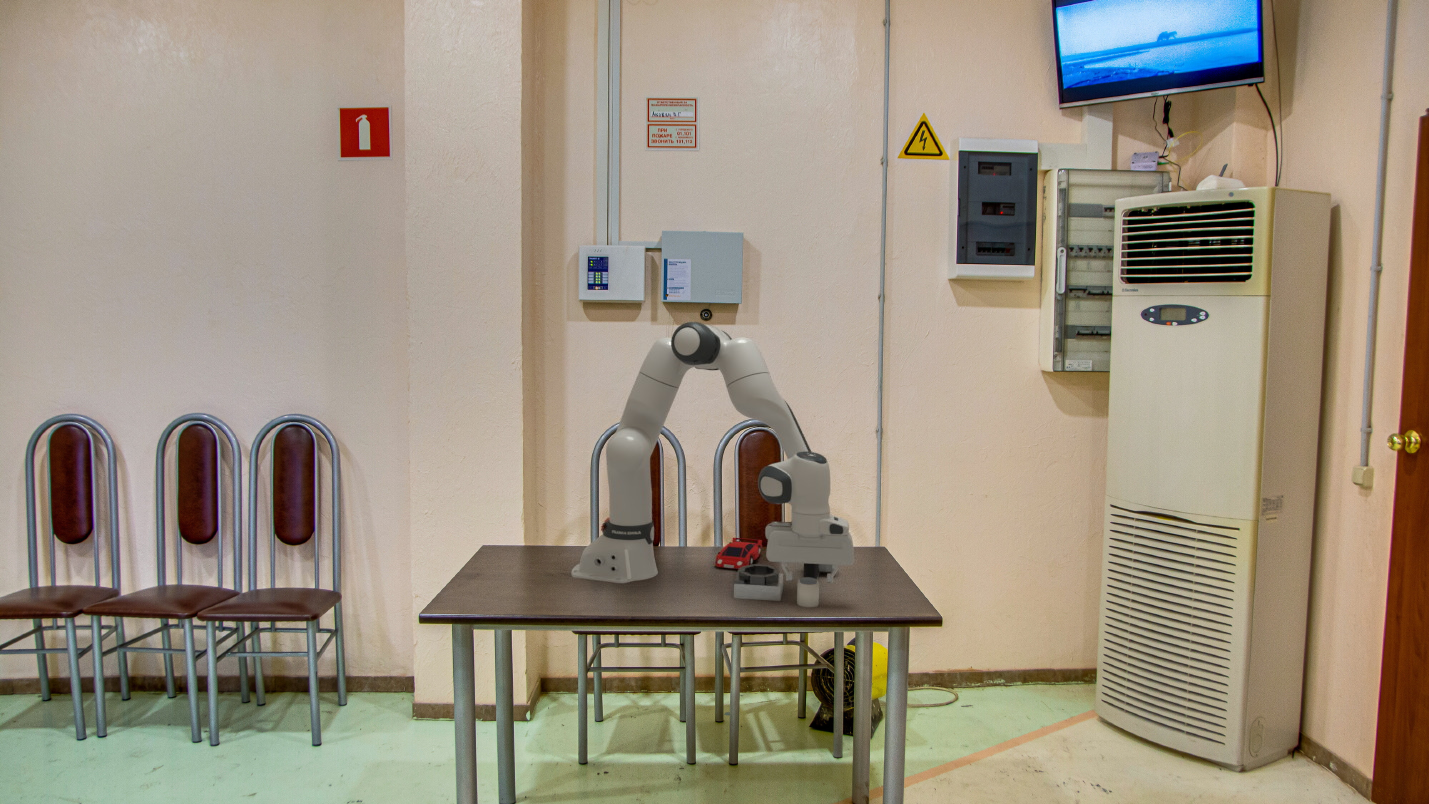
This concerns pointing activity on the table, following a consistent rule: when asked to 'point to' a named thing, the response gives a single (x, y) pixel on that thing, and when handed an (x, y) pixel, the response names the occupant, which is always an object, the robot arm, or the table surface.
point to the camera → (816, 569)
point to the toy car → (739, 553)
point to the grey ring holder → (758, 583)
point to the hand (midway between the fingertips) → (809, 581)
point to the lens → (808, 592)
